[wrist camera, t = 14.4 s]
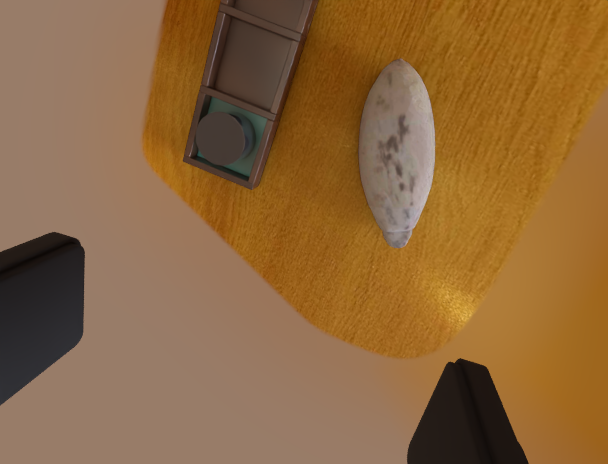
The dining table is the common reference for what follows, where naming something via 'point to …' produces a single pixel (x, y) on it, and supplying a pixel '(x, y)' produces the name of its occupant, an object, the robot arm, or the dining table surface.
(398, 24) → the dining table surface
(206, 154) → the dark gray cylinder
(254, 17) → the divided tray
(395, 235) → the decorative stone
